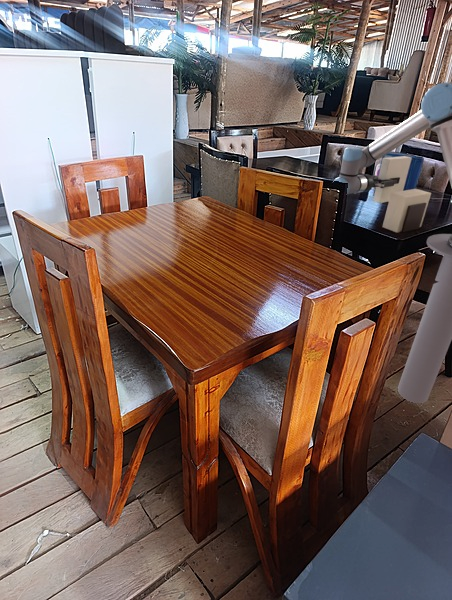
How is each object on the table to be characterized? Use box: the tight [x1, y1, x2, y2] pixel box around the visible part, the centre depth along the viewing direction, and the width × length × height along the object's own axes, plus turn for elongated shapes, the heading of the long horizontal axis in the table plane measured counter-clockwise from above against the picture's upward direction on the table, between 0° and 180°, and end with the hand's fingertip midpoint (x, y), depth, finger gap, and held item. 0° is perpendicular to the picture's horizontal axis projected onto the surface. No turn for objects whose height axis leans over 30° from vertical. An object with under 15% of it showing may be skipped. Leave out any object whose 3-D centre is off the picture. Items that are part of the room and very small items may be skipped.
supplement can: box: [372, 163, 381, 191], centre depth 243 cm, size 8×8×15 cm
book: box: [372, 151, 425, 197], centre depth 223 cm, size 22×7×25 cm, turn 58°
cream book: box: [372, 156, 412, 204], centre depth 191 cm, size 4×16×20 cm, turn 122°
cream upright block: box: [382, 188, 432, 233], centre depth 182 cm, size 9×18×16 cm, turn 122°
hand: (394, 179), depth 192 cm, fingers closed on cream book, 4 cm apart
